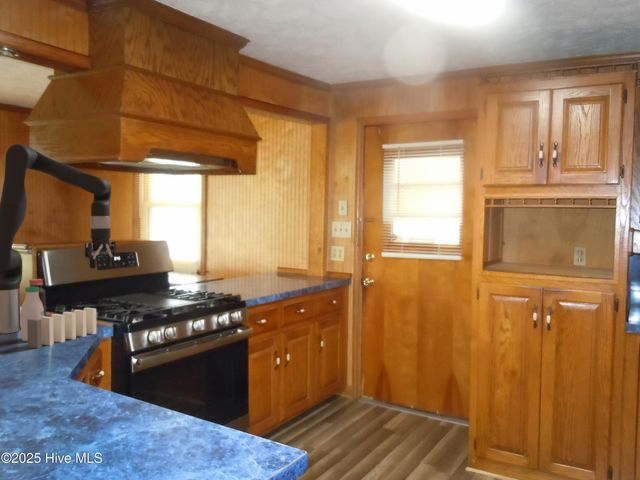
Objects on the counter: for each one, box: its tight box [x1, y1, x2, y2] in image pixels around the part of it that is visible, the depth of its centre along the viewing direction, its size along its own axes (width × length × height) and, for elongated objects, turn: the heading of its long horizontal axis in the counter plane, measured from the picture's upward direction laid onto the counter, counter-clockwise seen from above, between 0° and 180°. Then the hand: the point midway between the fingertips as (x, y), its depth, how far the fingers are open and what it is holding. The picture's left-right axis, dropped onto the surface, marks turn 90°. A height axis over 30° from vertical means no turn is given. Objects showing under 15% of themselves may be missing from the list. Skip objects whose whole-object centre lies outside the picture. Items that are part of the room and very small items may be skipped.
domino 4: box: [62, 311, 77, 341], centre depth 203 cm, size 2×5×10 cm, turn 67°
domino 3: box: [50, 313, 66, 343], centre depth 199 cm, size 2×5×10 cm, turn 67°
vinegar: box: [28, 278, 47, 317], centre depth 223 cm, size 7×7×20 cm
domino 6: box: [83, 307, 97, 335], centre depth 212 cm, size 2×5×10 cm, turn 67°
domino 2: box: [40, 315, 55, 346], centre depth 194 cm, size 2×5×10 cm, turn 66°
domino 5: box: [72, 309, 87, 338], centre depth 208 cm, size 2×5×10 cm, turn 67°
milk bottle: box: [20, 286, 44, 342], centre depth 201 cm, size 8×8×20 cm
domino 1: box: [27, 319, 43, 350], centre depth 189 cm, size 2×5×10 cm, turn 67°
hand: (100, 267), depth 217 cm, fingers open, 7 cm apart
